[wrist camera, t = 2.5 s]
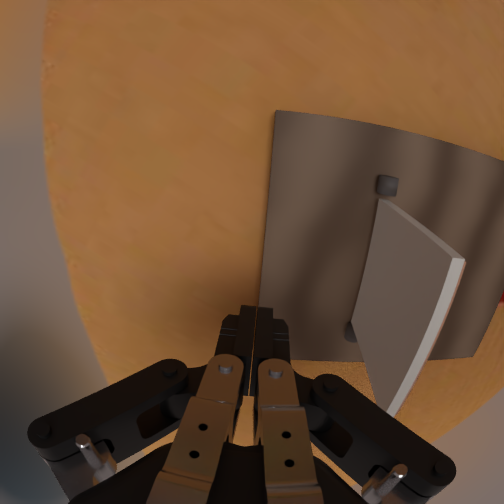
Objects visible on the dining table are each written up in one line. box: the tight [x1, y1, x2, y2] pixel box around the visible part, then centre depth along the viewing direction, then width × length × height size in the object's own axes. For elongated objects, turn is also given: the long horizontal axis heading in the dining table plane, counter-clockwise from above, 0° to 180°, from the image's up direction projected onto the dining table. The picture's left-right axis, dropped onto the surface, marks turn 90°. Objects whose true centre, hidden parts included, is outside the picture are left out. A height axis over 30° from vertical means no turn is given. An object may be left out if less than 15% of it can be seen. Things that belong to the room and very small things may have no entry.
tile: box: [351, 199, 466, 417], centre depth 17 cm, size 10×10×1 cm
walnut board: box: [258, 110, 504, 362], centre depth 22 cm, size 24×20×3 cm
